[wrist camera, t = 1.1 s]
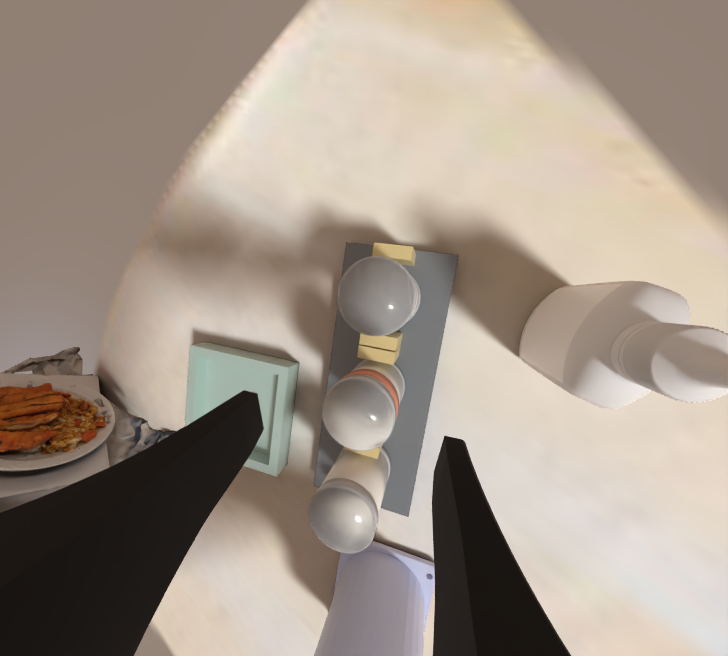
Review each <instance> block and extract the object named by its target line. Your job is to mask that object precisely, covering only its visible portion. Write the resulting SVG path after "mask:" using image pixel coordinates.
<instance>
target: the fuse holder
mask: <svg viewBox="0 0 728 656" xmlns="http://www.w3.org/2000/svg"><path fill="white" fill-rule="evenodd" d="M371 256H383V257H387V258H390V259H393V260H395V261H397V262H398V263H399V264H401V265H402V266H403V267H404V268H405V269H406V270H407V271H408V272H409V274H410V275H411V276H412V277H413V278H414V279H415V280H416V282H417V284H418V286H419V289H420V293H421V301H420V305H419V308H418V310H417V312H416V314H415V315H414V316H413V317H412V318H411V319H410V320H409V321H408V322H406V323H405V324H404V325H403V326H402V327H401V328H399V329H398V330H397V331H395V332H393V333H391V334H388V335H384V336H368V335H364V334H362V333H360V332H358V331H356V330H354V329H353V328H352V327H351V326H350V325H349V324H348V323H347V322H346V321H345V320H344V318H343V316H342V314H341V312H340V309H339V306H338V309H337V316H336V324H335V331H334V339H333V346H332V353H331V361H330V368H329V376H328V383H327V391H326V394H327V392H328V391H329V390H330V389H331V388H332V387H333V386H334V385H335V384H336V383H337V382H338V381H340V380H341V379H342V378H343V377H344V376H345V375H347V374H348V373H350V372H351V371H352V370H353V369H354V368H355V367H356V366H357V365H358V364H359V363H360V362H362V361H363V360H365V359H367V360H372V361H377V362H382V363H387V364H391V365H394V363H396V364H397V365H398V366H399V368H400V369H401V371H402V373H403V375H404V378H405V391H404V395H403V397H402V400H401V402H400V405H399V410H398V414H397V417H396V420H395V424H394V427H393V430H392V432H391V434H390V436H389V438H388V439H387V440H386V441H385V442H384V443H383V444H382V445H383V446H384V447H385V448H386V450H387V451H388V453H389V455H390V459H391V471H390V475H389V478H388V481H387V484H386V488H385V492H384V496H383V500H382V504H381V508H383V509H386V510H389V511H392V512H395V513H398V514H401V515H404V516H407V517H408V516H409V511H410V506H411V501H412V495H413V490H414V485H415V480H416V474H417V469H418V464H419V459H420V454H421V448H422V443H423V438H424V433H425V427H426V422H427V417H428V412H429V406H430V401H431V396H432V391H433V386H434V380H435V375H436V370H437V365H438V359H439V354H440V349H441V344H442V338H443V333H444V328H445V323H446V318H447V312H448V307H449V302H450V297H451V291H452V286H453V281H454V276H455V270H456V265H457V260H458V255H454V254H445V253H436V252H427V251H418V250H414V248H413V247H411V246H402V245H393V244H384V243H375V242H374V245H365V244H356V243H347V242H346V250H345V257H344V264H343V272H342V277H343V275H344V273H345V272H346V271H347V270H348V268H349V267H350V266H352V265H353V264H354V263H356V262H357V261H359V260H361V259H363V258H366V257H371ZM382 445H381V446H379V447H377V448H375V449H372V450H368V451H356V450H351V449H349V448H346V447H344V446H342V445H341V444H339V443H338V442H337V441H336V440H335V439H334V438H333V437H332V436H331V435H330V434H329V432H328V430H327V429H326V427H325V424H324V421H323V420H322V428H321V435H320V442H319V450H318V457H317V465H316V472H315V480H314V486H316V487H320V486H321V485H322V483H323V481H324V480H325V478H326V476H327V475H328V473H329V471H330V470H331V468H332V466H333V465H334V463H335V461H336V460H337V458H338V456H339V454H340V452H341V450H342V449H344V450H348V451H351V452H355V453H358V454H362V455H365V456H369V457H372V458H375V459H378V456H379V453H380V450H381V448H382ZM343 447H344V448H343Z"/></svg>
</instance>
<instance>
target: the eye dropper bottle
mask: <svg viewBox="0 0 728 656" xmlns="http://www.w3.org/2000/svg"><path fill="white" fill-rule="evenodd" d="M519 355H520V358H521V360H522V361H523V362H524V363H526V364H527V365H528V366H530V367H531V368H533V369H534V370H536V371H537V372H539V373H540V374H542V375H543V376H544V377H546V378H547V379H549V380H550V381H552V382H553V383H555V384H556V385H558V386H559V387H561V388H562V389H564V390H566V391H567V392H569V393H570V394H572V395H574V396H576V397H578V398H580V399H583V400H585V401H587V402H589V403H591V404H594V405H596V406H599V407H601V408H606V409H616V408H621V407H623V406H626V405H628V404H630V403H632V402H634V401H636V400H638V399H639V398H641V397H643V396H644V395H646V394H648V393H649V392H650V391H655V392H657V393H660V394H662V395H664V396H667V397H669V398H672V399H675V400H679V401H681V402H682V401H684V402H691V403H693V402H696V403H698V402H705V401H710V400H714V399H717V398H719V397H722V396H724V395H726V394H727V393H728V334H727V333H724V332H723V331H719V330H718V329H714V328H709V327H705V326H695V325H690V310H689V305H688V303H687V300H686V299H685V298H684V297H682V296H681V295H680V294H678V293H676V292H674V291H671V290H669V289H666V288H663V287H660V286H657V285H654V284H651V283H648V282H640V281H621V282H608V283H596V284H586V285H576V286H566V287H561V288H558V289H556V290H554V291H553V292H552V293H550V294H549V295H548V296H547V297H546V298H545V299H544V300H542V301H541V303H540V304H539V305H538V306H537V307H536V308H535V309H534V311H533V312H532V314H531V315H530V317H529V318H528V320H527V322H526V324H525V327H524V329H523V332H522V336H521V340H520V347H519Z"/></svg>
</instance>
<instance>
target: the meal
mask: <svg viewBox="0 0 728 656" xmlns="http://www.w3.org/2000/svg"><path fill="white" fill-rule="evenodd" d="M79 350H80V348H79V347H74V348H70V349H67V350H63V351H62V352H60V353H58V354H56V355H54V356H46V357H39V358H29V359H27V360H25V361H23V362H22V363H20V364H18V365H16V366H14V367H12V368H10V369H8V370H6V371H4V372H2V373H0V513H1V512H3V511H6V510H9V509H11V508H14V507H17V506H19V505H22V504H24V503H27V502H30V501H32V500H35V499H37V498H40V497H42V496H45V495H47V494H50V493H52V492H55V491H57V490H59V489H62V488H64V487H66V486H69V485H71V484H73V483H75V482H78V481H80V480H82V479H84V478H87V477H89V476H91V475H93V474H96V473H98V472H100V471H102V470H105V469H107V468H109V467H111V466H113V465H115V464H117V463H119V462H121V461H123V460H125V459H127V458H129V457H131V456H133V455H135V454H137V453H139V452H141V451H143V450H145V449H147V448H148V447H150V446H152V445H154V444H156V443H157V442H159V441H161V440H163V439H164V438H166V437H168V436H170V435H171V434H173V433H175V432H176V431H169V432H164V433H162V432H161V431H154V430H151V429H149V427H148V424H147V421H144V420H142V419H136V418H131V417H129V416H128V415H126V414H125V413H123V412H122V411H121V410H120V409H119V408H118V407H117V406H116V405H115V404H113V403H112V402H111V401H109V400H108V399H106V398H105V397H104V396H103V395H101V394H100V389H99V379H98V377H97V376H94V375H93V374H90V375H82V358H81V357H80V355H78V352H79ZM31 370H32V371H33V374H14V373H15V372H23V371H31Z"/></svg>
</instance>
